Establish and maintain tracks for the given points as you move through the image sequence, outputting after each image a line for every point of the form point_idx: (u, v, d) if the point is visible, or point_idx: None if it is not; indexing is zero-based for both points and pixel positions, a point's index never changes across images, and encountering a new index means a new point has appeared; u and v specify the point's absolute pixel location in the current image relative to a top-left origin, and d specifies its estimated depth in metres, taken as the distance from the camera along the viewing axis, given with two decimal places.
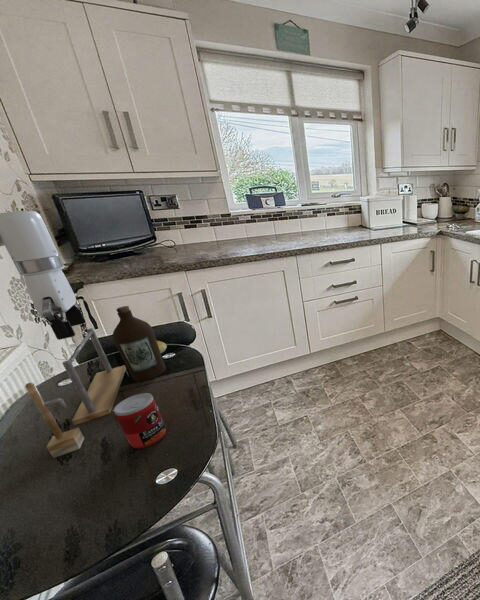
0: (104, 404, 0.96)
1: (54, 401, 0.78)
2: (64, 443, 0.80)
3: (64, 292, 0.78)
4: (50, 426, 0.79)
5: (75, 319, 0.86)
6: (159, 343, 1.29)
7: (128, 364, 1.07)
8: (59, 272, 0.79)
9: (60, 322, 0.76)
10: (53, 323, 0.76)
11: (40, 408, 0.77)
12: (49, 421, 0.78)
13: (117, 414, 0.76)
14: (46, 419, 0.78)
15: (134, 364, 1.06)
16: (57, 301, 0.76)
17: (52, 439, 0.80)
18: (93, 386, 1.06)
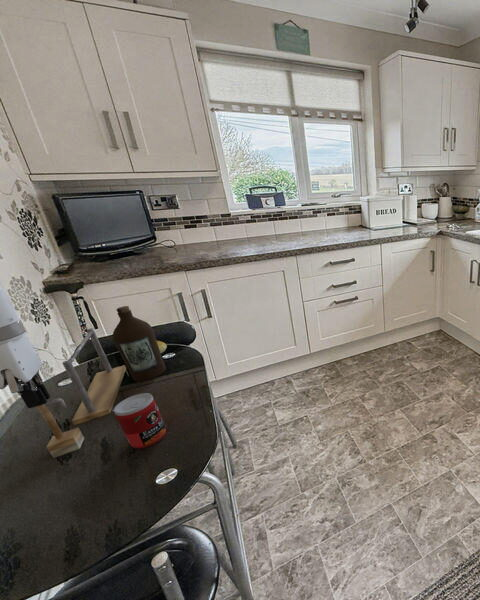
0: (104, 404, 0.96)
1: (54, 401, 0.78)
2: (64, 443, 0.80)
3: (26, 360, 0.72)
4: (50, 426, 0.79)
5: None
6: (159, 343, 1.29)
7: (128, 364, 1.07)
8: (21, 339, 0.72)
9: (30, 391, 0.74)
10: (23, 393, 0.73)
11: (40, 408, 0.77)
12: (49, 421, 0.78)
13: (117, 414, 0.76)
14: (46, 419, 0.78)
15: (134, 364, 1.06)
16: (17, 372, 0.70)
17: (52, 439, 0.80)
18: (93, 386, 1.06)
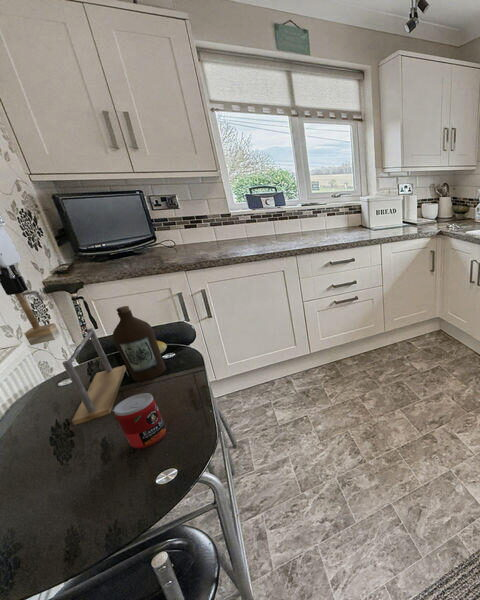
0: (104, 404, 0.96)
1: (31, 292, 0.87)
2: (40, 332, 0.88)
3: (4, 248, 0.81)
4: (27, 316, 0.87)
5: None
6: (159, 343, 1.29)
7: (128, 364, 1.07)
8: None
9: (8, 278, 0.82)
10: (1, 279, 0.82)
11: (18, 297, 0.85)
12: (26, 310, 0.87)
13: (117, 414, 0.76)
14: (24, 308, 0.86)
15: (134, 364, 1.06)
16: None
17: (30, 329, 0.89)
18: (93, 386, 1.06)
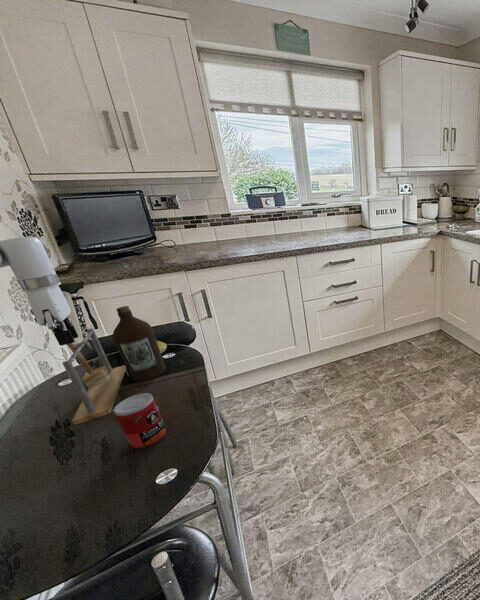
0: (104, 404, 0.96)
1: (82, 343, 0.98)
2: (95, 376, 1.00)
3: (60, 305, 0.92)
4: (82, 364, 0.99)
5: None
6: (159, 343, 1.29)
7: (128, 364, 1.07)
8: (56, 288, 0.92)
9: (62, 331, 0.93)
10: (56, 332, 0.92)
11: (72, 349, 0.97)
12: (81, 359, 0.99)
13: (117, 414, 0.76)
14: (78, 358, 0.98)
15: (134, 364, 1.06)
16: (54, 313, 0.90)
17: (86, 374, 1.01)
18: None
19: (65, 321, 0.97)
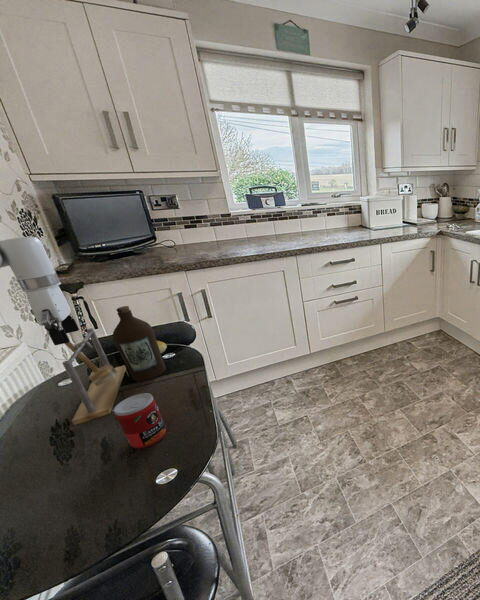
0: (104, 404, 0.96)
1: (81, 343, 0.98)
2: (101, 374, 1.01)
3: (60, 305, 0.92)
4: (86, 363, 1.00)
5: (70, 327, 0.99)
6: (159, 343, 1.29)
7: (128, 364, 1.07)
8: (56, 288, 0.92)
9: (57, 330, 0.90)
10: (51, 331, 0.89)
11: (73, 349, 0.97)
12: (83, 359, 0.99)
13: (117, 414, 0.76)
14: (80, 357, 0.99)
15: (134, 364, 1.06)
16: (54, 313, 0.90)
17: (91, 373, 1.02)
18: (93, 386, 1.06)
19: None
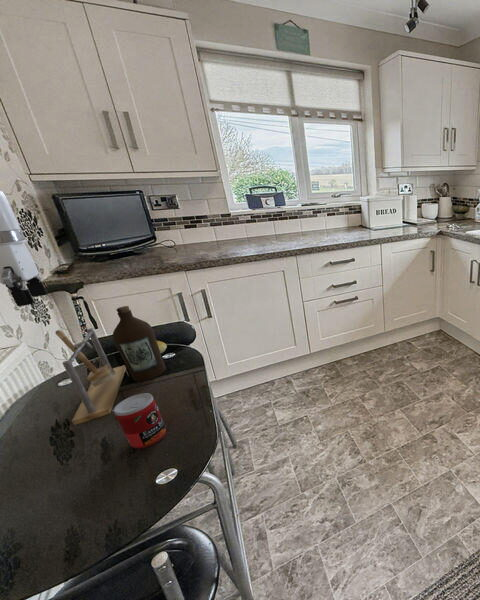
0: (104, 404, 0.96)
1: (81, 343, 0.98)
2: (99, 374, 1.01)
3: (25, 263, 0.86)
4: (85, 363, 0.99)
5: (37, 290, 0.93)
6: (159, 343, 1.29)
7: (128, 364, 1.07)
8: (21, 245, 0.86)
9: (19, 290, 0.84)
10: (13, 290, 0.83)
11: (72, 349, 0.97)
12: (83, 359, 0.99)
13: (117, 414, 0.76)
14: (80, 357, 0.98)
15: (134, 364, 1.06)
16: (17, 271, 0.84)
17: (90, 374, 1.02)
18: (93, 386, 1.06)
19: (33, 277, 0.93)
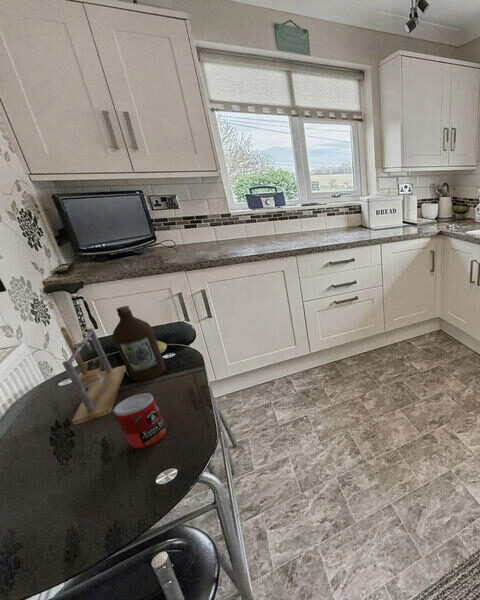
0: (104, 404, 0.96)
1: (82, 343, 0.98)
2: (89, 378, 1.00)
3: None
4: (78, 364, 0.99)
5: None
6: (159, 343, 1.29)
7: (128, 364, 1.07)
8: None
9: None
10: None
11: (71, 348, 0.97)
12: (78, 359, 0.98)
13: (117, 414, 0.76)
14: None
15: (134, 364, 1.06)
16: None
17: (79, 375, 1.00)
18: (93, 386, 1.06)
19: None
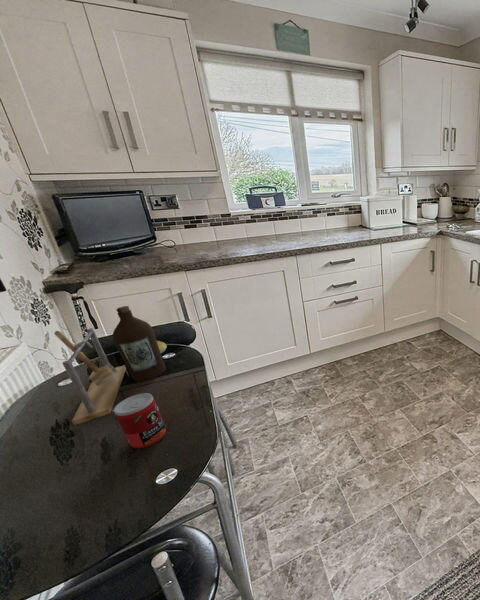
0: (104, 404, 0.96)
1: (81, 343, 0.98)
2: (101, 374, 1.01)
3: None
4: (86, 363, 1.00)
5: None
6: (159, 343, 1.29)
7: (128, 364, 1.07)
8: None
9: None
10: None
11: (73, 349, 0.97)
12: (83, 359, 0.99)
13: (117, 414, 0.76)
14: (80, 357, 0.99)
15: (134, 364, 1.06)
16: None
17: (92, 373, 1.02)
18: (93, 386, 1.06)
19: None
